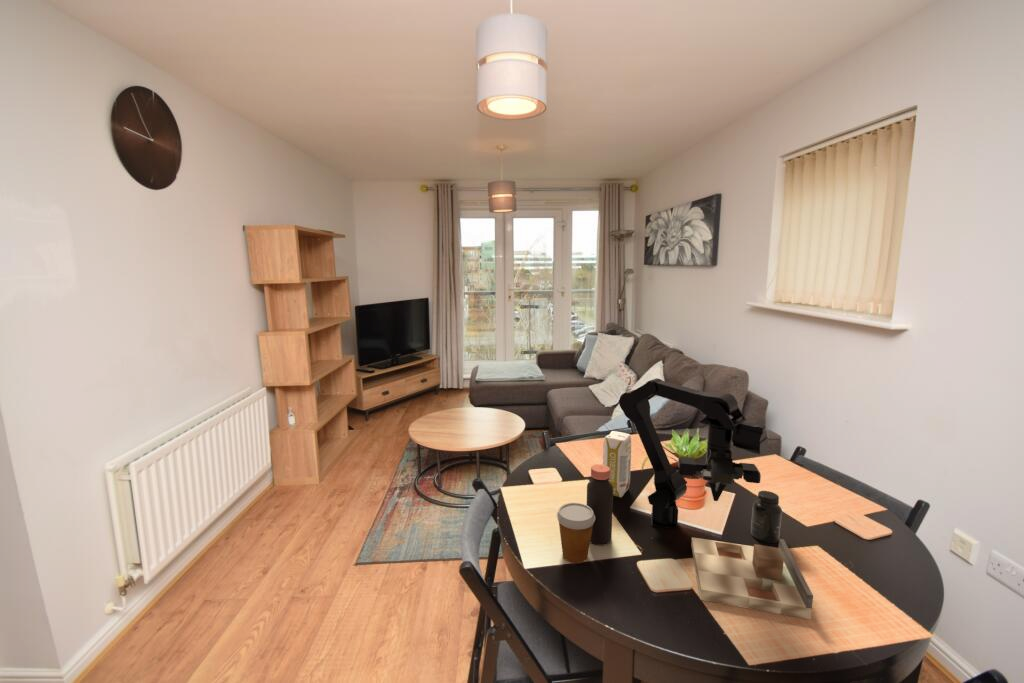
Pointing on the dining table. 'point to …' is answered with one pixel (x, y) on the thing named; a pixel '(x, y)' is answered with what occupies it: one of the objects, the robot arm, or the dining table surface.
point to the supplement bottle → (766, 517)
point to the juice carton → (618, 460)
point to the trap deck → (749, 579)
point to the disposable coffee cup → (575, 531)
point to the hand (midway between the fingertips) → (715, 500)
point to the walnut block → (767, 562)
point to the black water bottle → (600, 504)
